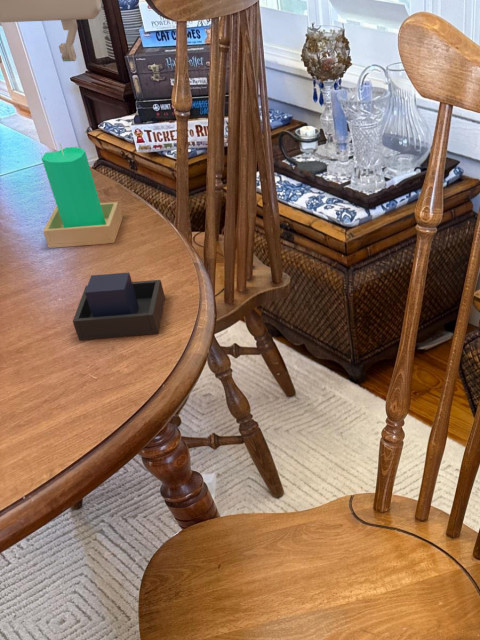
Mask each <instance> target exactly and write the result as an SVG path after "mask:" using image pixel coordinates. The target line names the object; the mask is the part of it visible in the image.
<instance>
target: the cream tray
mask: <svg viewBox="0 0 480 640" xmlns="http://www.w3.org/2000/svg"><path fill="white" fill-rule="evenodd" d="M100 205H101V208H102V212H103V215H104V218H105V222H106V225H95V226H82V227H69V228H64V226H63V223H62V220H61V217H60V214H59V210H58V207H57V205H56V206H55V207H54V208H53V211H52V213H51V215H50V217H49V218H48V220H47V223H46V224H45V226H44V228H43V230H42V232H43V235H44V238H45V241H46V244H47V246H48V249H54V248H67V247H68V248H69V247H81V246H92V245H93V246H94V245H106V244H115V242H116V238H117V236H118V233H119V230H120V227H121V224H122V221H123V215H122V211H121V207H120V205H119V201H113V202H100Z"/></svg>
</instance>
